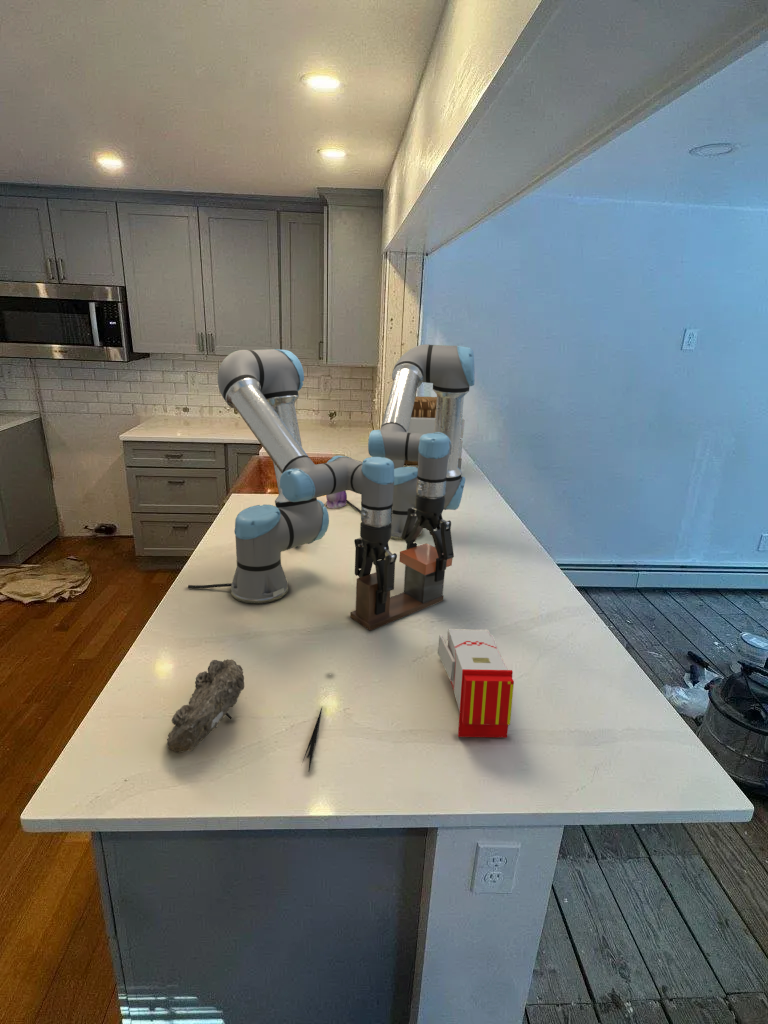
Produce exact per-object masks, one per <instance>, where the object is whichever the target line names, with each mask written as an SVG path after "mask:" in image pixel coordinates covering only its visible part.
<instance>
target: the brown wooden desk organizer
mask: <svg viewBox="0 0 768 1024" xmlns="http://www.w3.org/2000/svg"><path fill="white" fill-rule="evenodd" d="M404 566H405V567H404V579H403V592H401V593H398V594H394V595H391V591H389V592H387V601H386V603H385V612H383V613H381V614H378V615H376V614H375V600H376V590H378V583H377V575H376V571H375V572H372V573H370V574H369V575H366V576H363V577H360V578H359V577H357V578H356V587H355V590H356V591H355V610H353V611H350V614H349V615H350V619H352V620H353V621H355V622H356V623H358V624H359V625H361V626H362V627H364V628H365V629H367V630H368V631H370V632H371V631H373V630H376V629H379V628H380V627H383V626H385V625H388V624H390V623H392V622H395V621H397V620H399V619H402V618H404V617H407V616H409V615H412V614H414V613H417V612H419V611H421V610H424V609H426V608H430V607H431V606H434V605H436V604H439V603H441V602H443V601H444V596H445V595H444V584H445V578H444V579H443V580H441V581H438V582H435V581H434V579H435V572H433V573H430V574H427V575H424V574H422V573H420V572H418V571H416V570H414V569H412V568H410V567H409V566H407V565H405V564H404ZM445 574H446V570H444V576H445Z"/></svg>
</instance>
